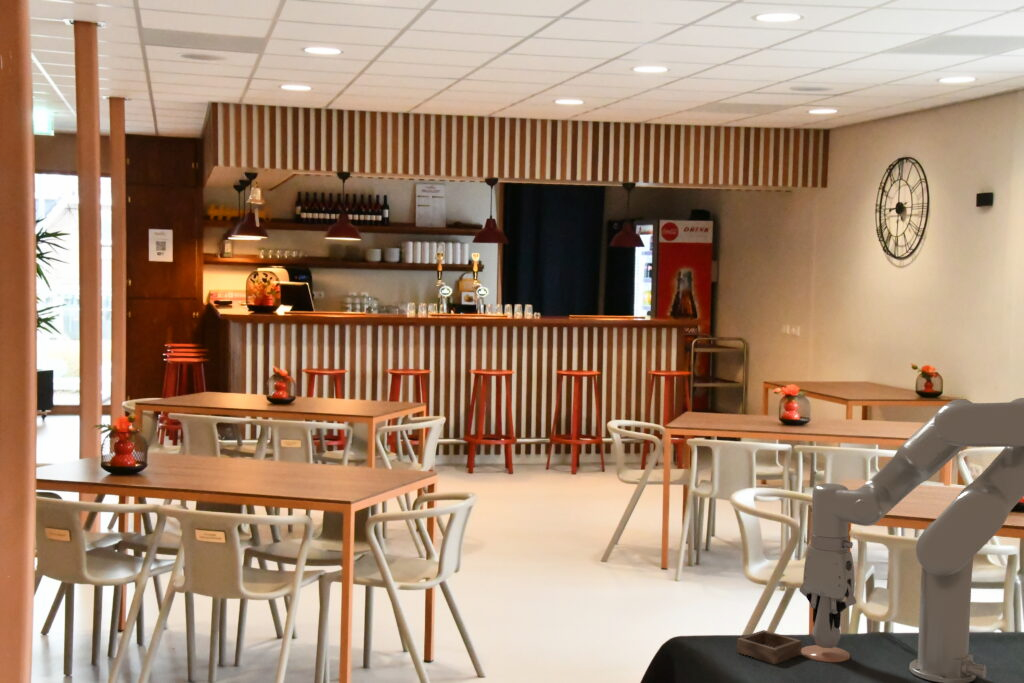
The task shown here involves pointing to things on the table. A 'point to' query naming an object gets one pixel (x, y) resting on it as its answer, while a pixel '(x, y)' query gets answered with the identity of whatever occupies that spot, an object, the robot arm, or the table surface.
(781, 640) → the square wooden frame
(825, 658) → the orange round disc
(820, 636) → the salt shaker
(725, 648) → the table surface
